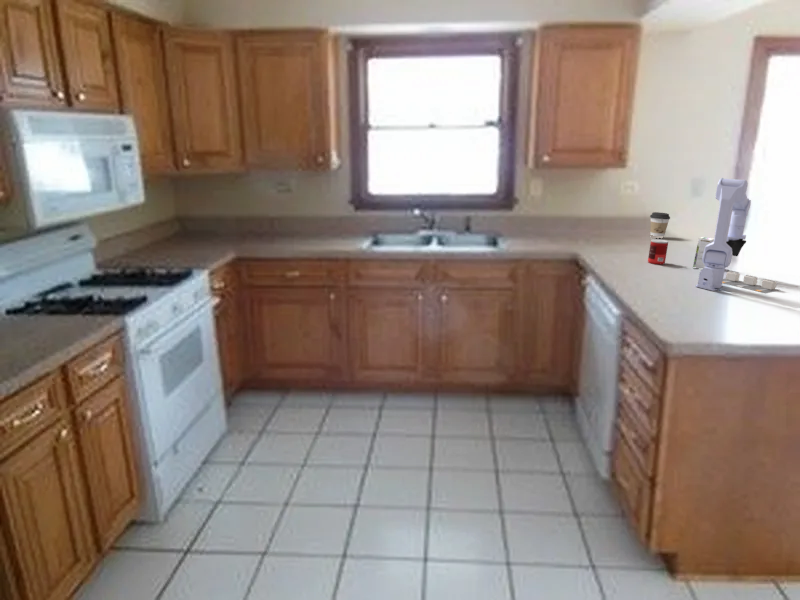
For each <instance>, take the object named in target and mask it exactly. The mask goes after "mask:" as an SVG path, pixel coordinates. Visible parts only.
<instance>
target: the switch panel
mask: <svg viewBox="0 0 800 600" xmlns="http://www.w3.org/2000/svg"><path fill="white" fill-rule="evenodd" d="M743 281H744V280H743ZM743 281H742V280H739V281H731V280H727V279H726V277H724V278H723V282H722V285H723V284H724V285H728V286H732V287H736V288H741V289H745V290H749V291H752V292H759V293H762V294H769V293H774V292H779V291H780V289H779V288H778V289H777V288H775V289H772V290H771V289H766V288H762V287H761V286H762V284H761V285H760V284H756V285H749V284H744V283H743Z"/></svg>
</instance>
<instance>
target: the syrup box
mask: <svg viewBox="0 0 800 600" xmlns="http://www.w3.org/2000/svg"><path fill="white" fill-rule="evenodd" d="M712 242H714V237H712V238H711V237H707V236H701V237H698V240H697V245H696V250H695V255H694V260H693V266H692V268H693V267H696V268H705V265H704V263H703V262H702V257H703V253H704V250H705V247H706V246H707V245H708V244H710V243H712Z"/></svg>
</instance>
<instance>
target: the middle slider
mask: <svg viewBox="0 0 800 600" xmlns="http://www.w3.org/2000/svg"><path fill="white" fill-rule="evenodd" d="M743 283H744V284H749V285H758V284H757V283H758V277H757V276H753V275H749V274H746V275H744V277H743Z"/></svg>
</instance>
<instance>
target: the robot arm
mask: <svg viewBox="0 0 800 600" xmlns="http://www.w3.org/2000/svg"><path fill="white" fill-rule="evenodd" d="M748 184H749V183H748V181H747V179H737V178H736V179H734V178H724V177H721V178H719V180H718V182H717V186H716V190H715V199H716V200H717V201H719V203H718V204H719V205H718V206H719V207H718V208H719V209H718V211H717V212H718V213H717V220H716V225H715V232H714V237H713V239H714V242H712V243H710V244H708V245H707V246H706V247H705V250H704V253H703V257H702V262H703V263H704V265H705V268H703V269H700V272H699V274H698V275H699V276H698V280H697V284H696V285H695V287H696V288H701V289H704V290H709V291H713V292H714V291H720V290H721V289H720V288H722V287H723V283H722V282H723V279H724V275H725V271H726V270H725V269H726V268H729V266H730V265H731V263H732V259H733V258H732V257H733V256H734V257H738V256H739V255H740V252H741V250H742V248H743V247H744V245H745V244H746V243H747V240H746V238H747V235H746V234H744V231H745V225H746V221H747V216H748V215H749V210H750V208H751V202H752V201H751V200H750V199H749V198H748V197H747V196H748V195H747V194H746V193H747V190H748V189H747V188H748Z"/></svg>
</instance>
